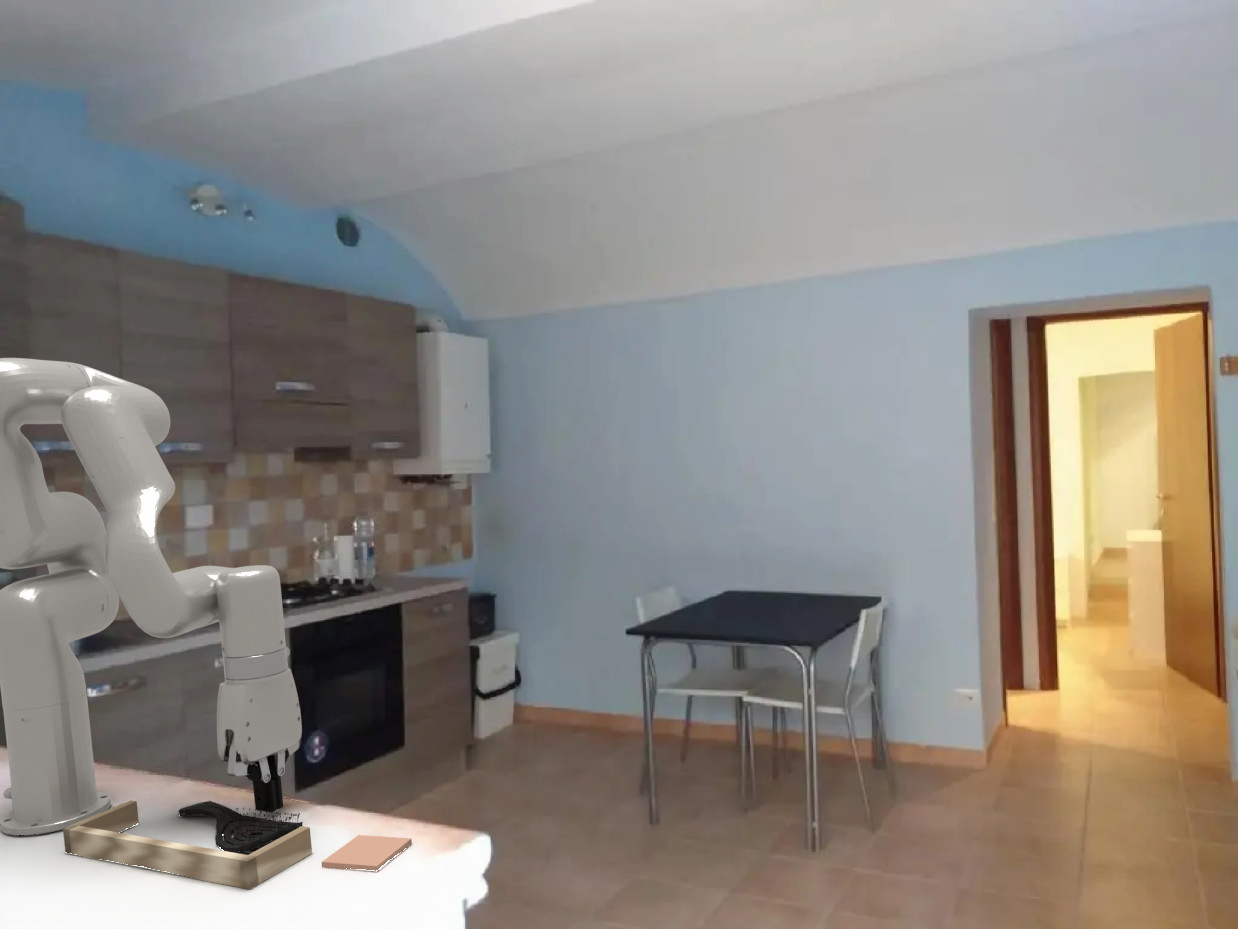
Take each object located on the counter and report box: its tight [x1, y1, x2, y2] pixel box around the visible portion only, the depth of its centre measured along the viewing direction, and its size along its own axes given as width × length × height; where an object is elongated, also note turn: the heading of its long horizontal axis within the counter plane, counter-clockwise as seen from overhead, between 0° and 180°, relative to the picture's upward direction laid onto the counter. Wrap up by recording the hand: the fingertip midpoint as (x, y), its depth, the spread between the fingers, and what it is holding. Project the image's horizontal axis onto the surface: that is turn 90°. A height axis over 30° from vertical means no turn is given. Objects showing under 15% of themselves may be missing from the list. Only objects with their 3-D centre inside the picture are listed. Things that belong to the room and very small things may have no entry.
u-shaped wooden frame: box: [62, 800, 313, 890], centre depth 114 cm, size 30×9×3 cm, turn 63°
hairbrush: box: [178, 800, 304, 854], centre depth 121 cm, size 8×4×25 cm
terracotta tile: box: [321, 834, 413, 871], centre depth 110 cm, size 7×7×1 cm
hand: (269, 809), depth 125 cm, fingers closed
